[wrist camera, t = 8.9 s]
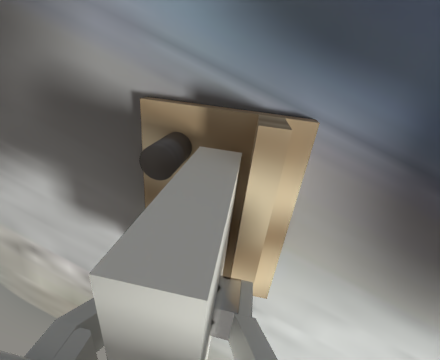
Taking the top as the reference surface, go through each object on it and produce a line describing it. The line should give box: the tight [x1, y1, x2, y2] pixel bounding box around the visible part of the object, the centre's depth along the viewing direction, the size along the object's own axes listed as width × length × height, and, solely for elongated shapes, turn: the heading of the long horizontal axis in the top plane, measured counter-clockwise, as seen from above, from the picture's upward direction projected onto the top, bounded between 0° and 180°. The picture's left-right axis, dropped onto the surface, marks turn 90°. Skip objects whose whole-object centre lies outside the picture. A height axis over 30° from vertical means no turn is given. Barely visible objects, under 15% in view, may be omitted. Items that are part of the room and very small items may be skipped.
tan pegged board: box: [140, 97, 320, 299], centre depth 14 cm, size 14×10×4 cm
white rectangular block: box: [89, 146, 242, 360], centre depth 10 cm, size 10×2×9 cm, turn 174°
